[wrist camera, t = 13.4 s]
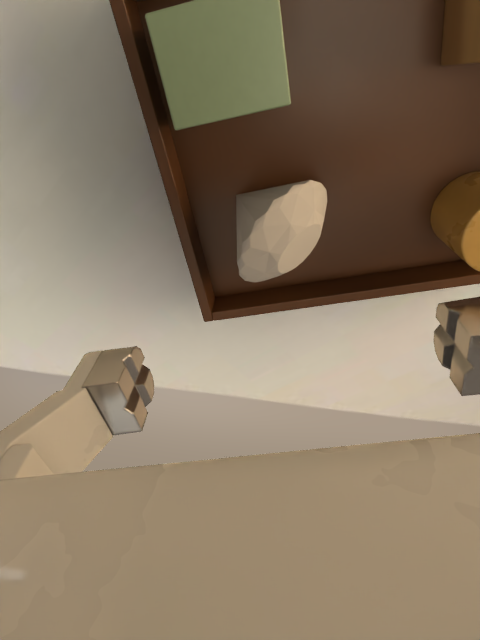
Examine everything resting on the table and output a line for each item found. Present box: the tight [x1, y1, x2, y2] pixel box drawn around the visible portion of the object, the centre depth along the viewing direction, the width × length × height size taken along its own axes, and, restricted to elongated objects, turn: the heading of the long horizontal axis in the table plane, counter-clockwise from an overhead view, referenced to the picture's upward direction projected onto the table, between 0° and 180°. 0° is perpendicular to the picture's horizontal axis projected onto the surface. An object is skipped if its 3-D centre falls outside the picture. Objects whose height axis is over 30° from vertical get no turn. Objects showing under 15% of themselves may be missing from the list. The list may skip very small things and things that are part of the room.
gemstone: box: [236, 180, 327, 282], centre depth 20 cm, size 6×6×5 cm
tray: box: [109, 0, 480, 322], centre depth 18 cm, size 19×16×2 cm
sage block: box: [145, 0, 291, 130], centre depth 16 cm, size 5×4×4 cm
